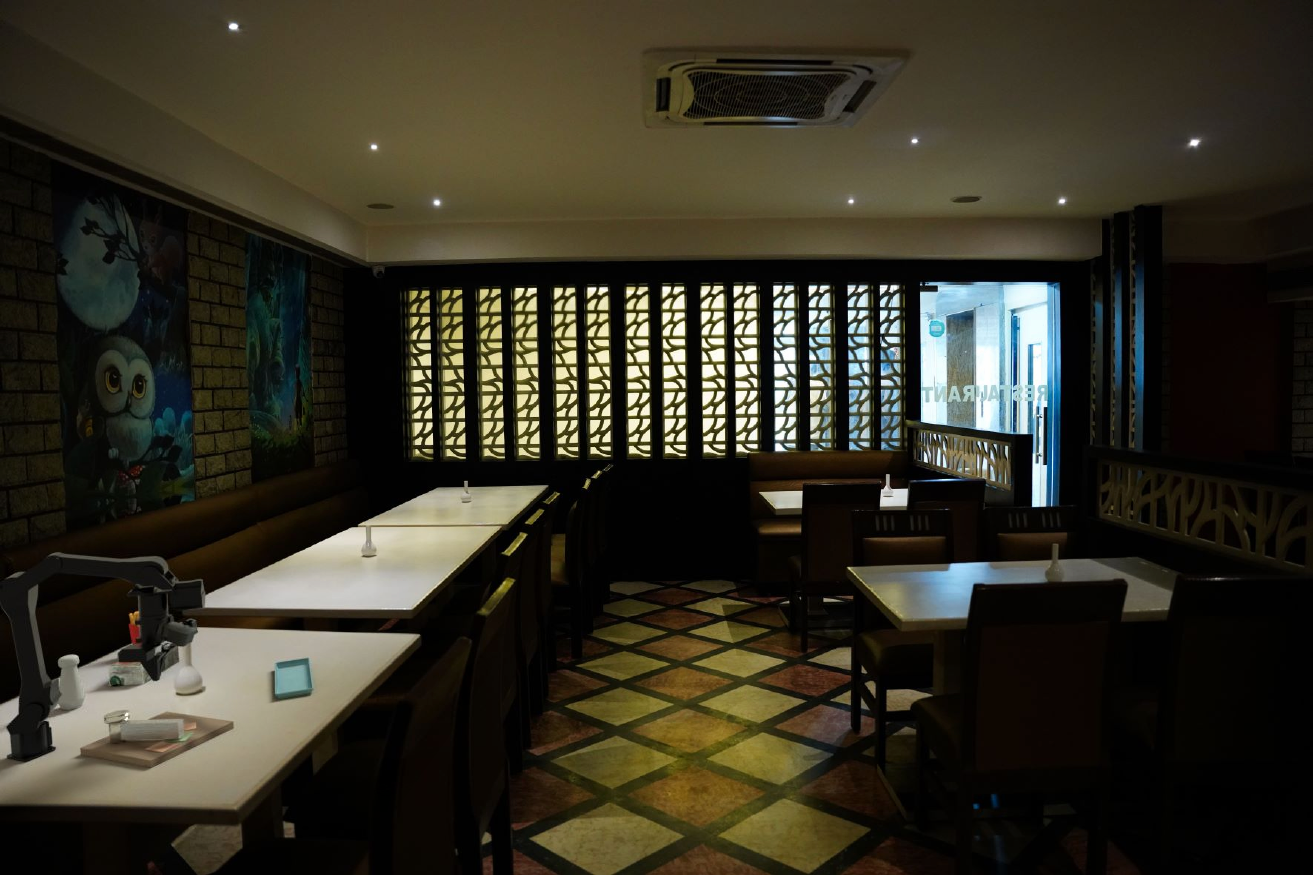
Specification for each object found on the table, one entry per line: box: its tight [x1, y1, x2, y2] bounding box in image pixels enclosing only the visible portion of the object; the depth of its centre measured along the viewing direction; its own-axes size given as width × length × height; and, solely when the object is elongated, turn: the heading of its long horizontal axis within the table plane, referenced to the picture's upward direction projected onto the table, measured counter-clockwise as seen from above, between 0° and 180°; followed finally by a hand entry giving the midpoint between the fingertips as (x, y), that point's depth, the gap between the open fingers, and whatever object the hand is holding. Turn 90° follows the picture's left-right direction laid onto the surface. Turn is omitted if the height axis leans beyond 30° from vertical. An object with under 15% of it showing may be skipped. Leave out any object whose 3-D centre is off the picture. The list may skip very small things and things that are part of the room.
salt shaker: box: [57, 654, 86, 711], centre depth 209 cm, size 6×6×13 cm
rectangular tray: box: [274, 657, 315, 700], centre depth 224 cm, size 26×9×2 cm, turn 25°
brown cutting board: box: [79, 711, 235, 768], centre depth 187 cm, size 21×21×2 cm
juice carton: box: [107, 642, 180, 687], centre depth 233 cm, size 20×10×6 cm, turn 4°
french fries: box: [128, 610, 142, 645], centre depth 252 cm, size 9×4×13 cm, turn 105°
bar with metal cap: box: [103, 709, 184, 743], centre depth 184 cm, size 16×5×6 cm, turn 90°
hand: (156, 680), depth 190 cm, fingers closed
